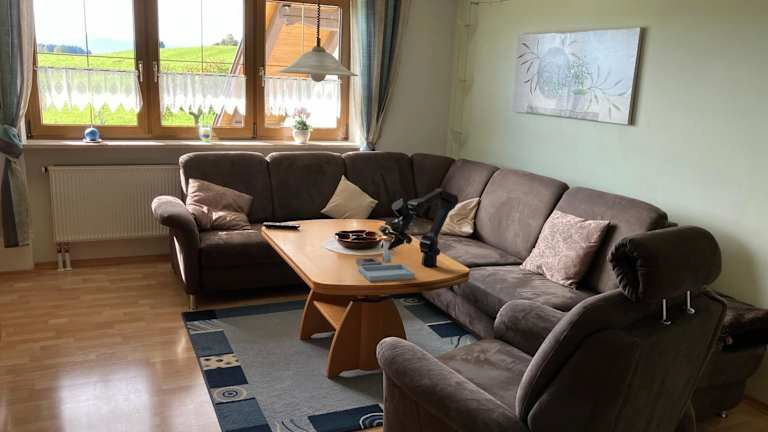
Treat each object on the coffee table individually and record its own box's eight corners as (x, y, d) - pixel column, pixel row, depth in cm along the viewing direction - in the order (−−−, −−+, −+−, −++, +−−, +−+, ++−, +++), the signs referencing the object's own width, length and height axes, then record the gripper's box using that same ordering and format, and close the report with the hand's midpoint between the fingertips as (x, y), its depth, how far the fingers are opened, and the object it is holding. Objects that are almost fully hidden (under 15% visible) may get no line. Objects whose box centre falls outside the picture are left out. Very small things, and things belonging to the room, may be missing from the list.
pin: (385, 259, 293) (386, 234, 291) (395, 262, 290) (396, 236, 287) (378, 261, 289) (379, 236, 287) (387, 264, 286) (388, 238, 283)
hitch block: (375, 262, 312) (375, 257, 311) (381, 267, 302) (381, 262, 302) (356, 263, 308) (356, 258, 308) (362, 268, 299) (362, 263, 299)
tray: (401, 268, 302) (402, 263, 301) (414, 278, 287) (414, 273, 287) (358, 271, 294) (358, 266, 294) (369, 281, 280) (369, 276, 279)
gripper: (382, 208, 294) (363, 234, 290) (408, 215, 280) (389, 242, 276) (394, 223, 301) (375, 248, 296) (420, 230, 287) (401, 257, 282)
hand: (385, 248), depth 287 cm, fingers closed on pin, 5 cm apart
